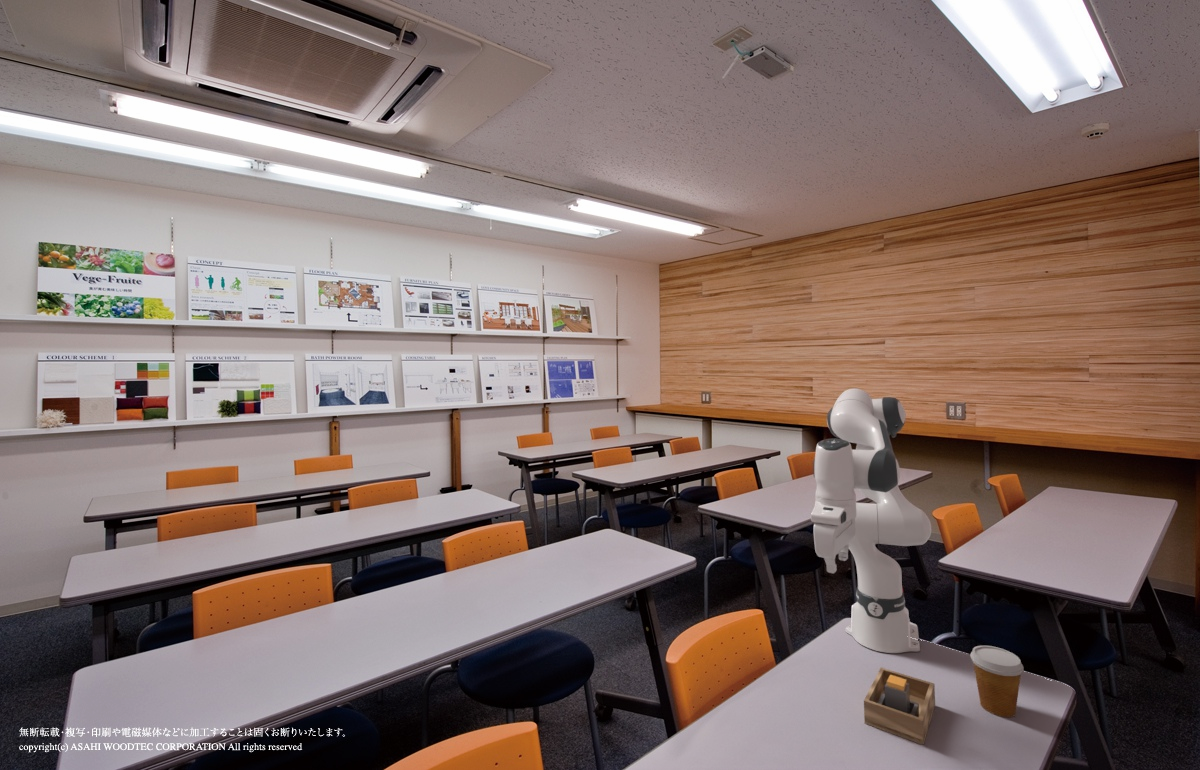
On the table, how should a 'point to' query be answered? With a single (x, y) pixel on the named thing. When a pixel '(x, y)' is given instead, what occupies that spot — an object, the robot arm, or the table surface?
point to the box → (898, 721)
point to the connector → (897, 694)
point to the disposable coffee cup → (997, 679)
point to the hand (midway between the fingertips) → (837, 565)
